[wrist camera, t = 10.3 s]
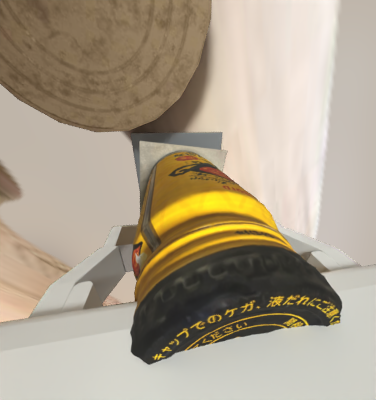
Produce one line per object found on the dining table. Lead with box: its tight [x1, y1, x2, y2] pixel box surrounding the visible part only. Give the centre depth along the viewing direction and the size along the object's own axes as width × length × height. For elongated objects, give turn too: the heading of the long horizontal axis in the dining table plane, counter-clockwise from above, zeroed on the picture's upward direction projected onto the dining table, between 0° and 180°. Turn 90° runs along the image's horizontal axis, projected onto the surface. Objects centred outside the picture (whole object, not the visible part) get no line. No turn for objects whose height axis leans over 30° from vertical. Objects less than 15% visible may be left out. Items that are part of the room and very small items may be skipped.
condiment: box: [130, 141, 342, 365], centre depth 9 cm, size 7×8×12 cm
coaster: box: [131, 132, 222, 189], centre depth 17 cm, size 9×9×1 cm
